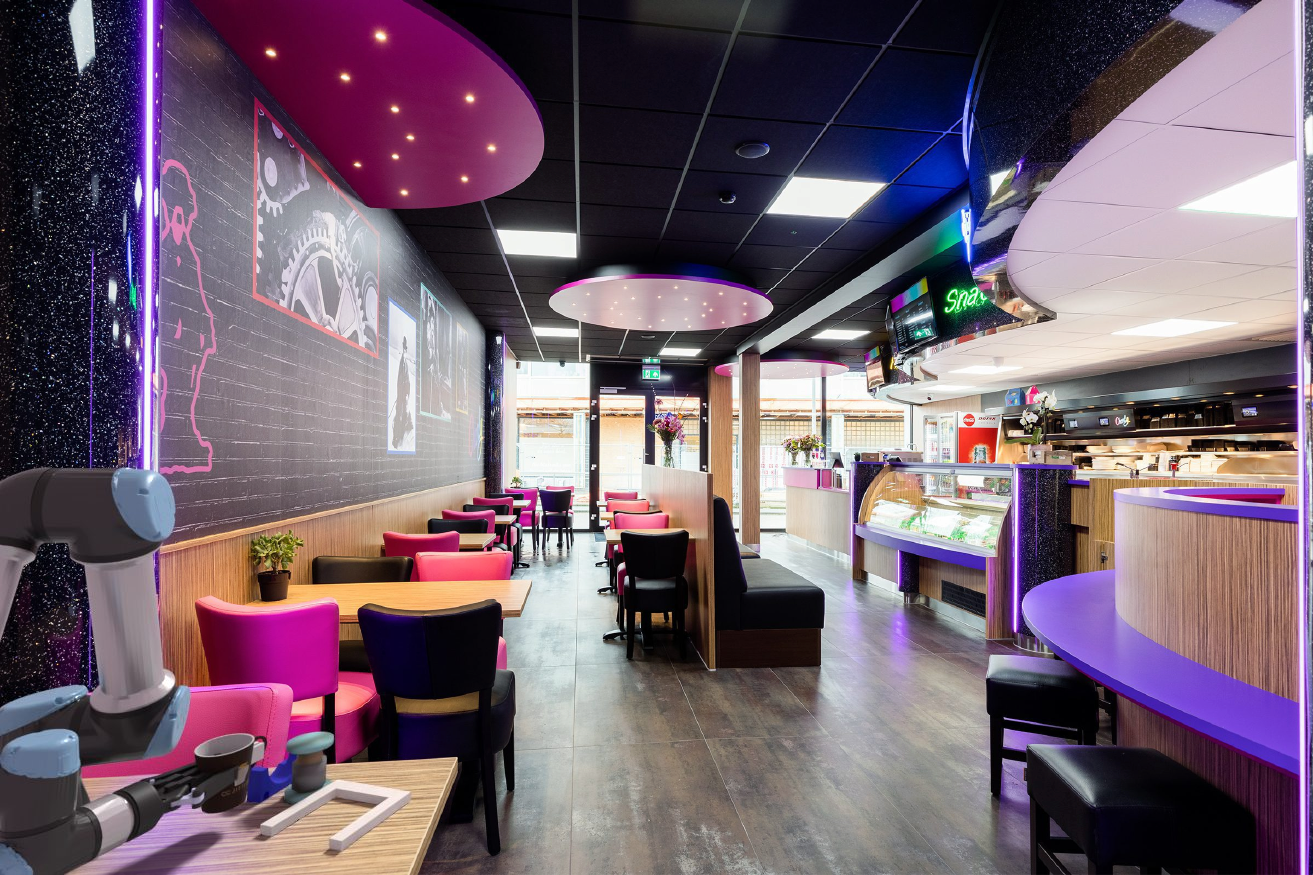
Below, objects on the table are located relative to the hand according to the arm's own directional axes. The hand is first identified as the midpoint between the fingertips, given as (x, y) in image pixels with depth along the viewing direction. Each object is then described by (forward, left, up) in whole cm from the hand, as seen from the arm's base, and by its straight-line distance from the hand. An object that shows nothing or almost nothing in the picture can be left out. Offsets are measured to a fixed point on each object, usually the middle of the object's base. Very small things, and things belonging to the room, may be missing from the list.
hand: (259, 749), depth 115 cm
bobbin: (+4, +8, -11) cm, 14 cm away
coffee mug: (0, -5, -7) cm, 8 cm away
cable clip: (-5, +8, -11) cm, 15 cm away
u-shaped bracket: (+16, +3, -11) cm, 19 cm away
